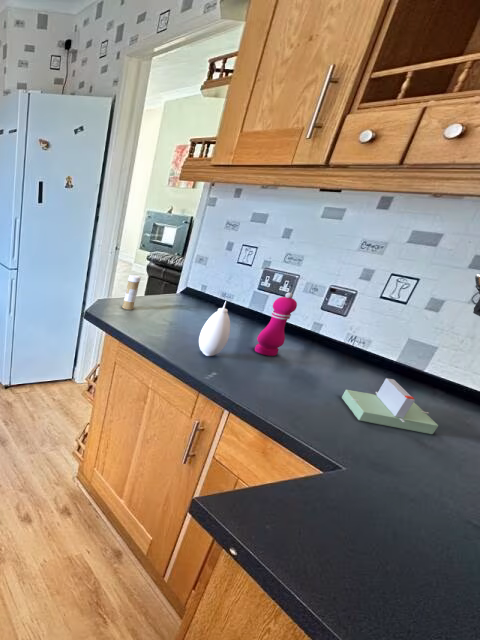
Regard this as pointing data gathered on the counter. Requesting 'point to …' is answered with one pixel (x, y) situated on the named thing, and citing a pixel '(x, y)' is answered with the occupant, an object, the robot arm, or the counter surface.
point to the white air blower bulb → (215, 332)
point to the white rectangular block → (395, 398)
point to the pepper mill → (276, 326)
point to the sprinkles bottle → (131, 292)
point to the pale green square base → (387, 413)
